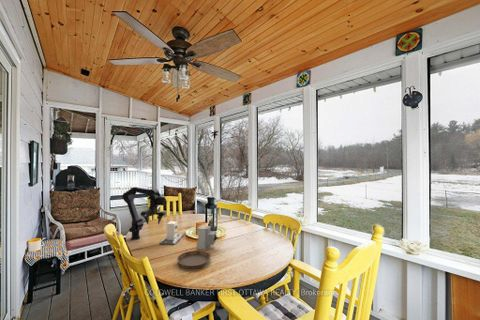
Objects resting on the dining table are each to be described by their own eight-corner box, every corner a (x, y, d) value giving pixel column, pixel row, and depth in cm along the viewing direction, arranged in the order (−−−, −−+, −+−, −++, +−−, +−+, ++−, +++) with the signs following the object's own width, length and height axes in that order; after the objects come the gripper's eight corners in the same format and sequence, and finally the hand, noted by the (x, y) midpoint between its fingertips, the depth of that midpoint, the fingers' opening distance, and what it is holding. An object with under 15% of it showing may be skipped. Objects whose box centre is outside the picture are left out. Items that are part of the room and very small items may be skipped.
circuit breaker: (215, 250, 154) (215, 229, 155) (196, 248, 157) (197, 228, 158) (218, 246, 162) (218, 226, 162) (200, 245, 165) (200, 225, 165)
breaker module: (166, 239, 172) (167, 223, 172) (170, 237, 178) (170, 221, 179) (175, 240, 171) (175, 223, 172) (178, 237, 178) (178, 221, 178)
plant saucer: (212, 268, 129) (212, 262, 129) (176, 272, 123) (177, 266, 123) (208, 254, 149) (208, 249, 149) (177, 257, 143) (177, 252, 143)
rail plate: (159, 244, 165) (159, 241, 165) (170, 235, 185) (170, 232, 185) (174, 244, 164) (174, 241, 164) (183, 236, 184) (183, 233, 184)
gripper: (136, 206, 166) (136, 226, 166) (160, 207, 165) (159, 227, 164) (144, 203, 177) (144, 222, 177) (166, 204, 176) (165, 223, 176)
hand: (153, 224), depth 173 cm, fingers open, 9 cm apart
